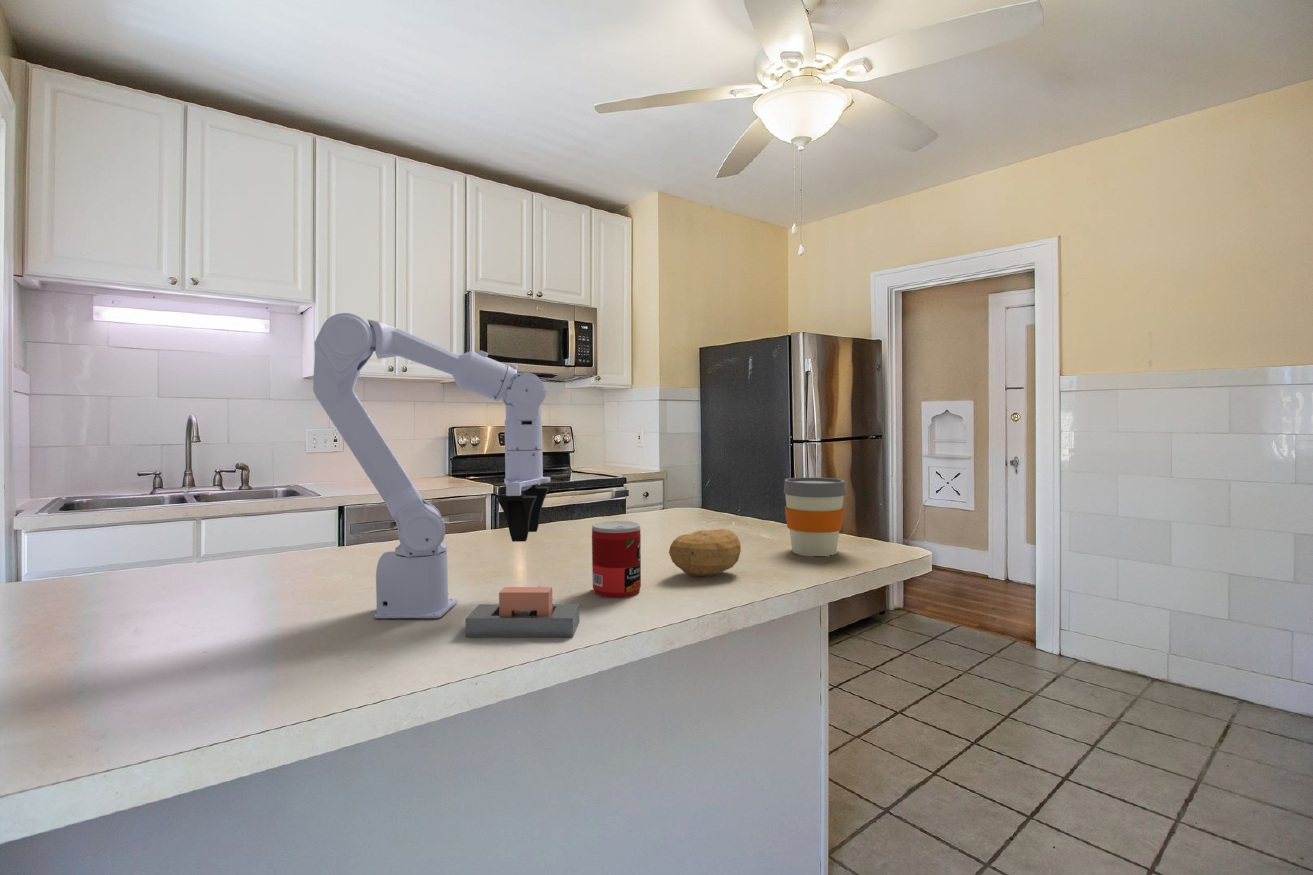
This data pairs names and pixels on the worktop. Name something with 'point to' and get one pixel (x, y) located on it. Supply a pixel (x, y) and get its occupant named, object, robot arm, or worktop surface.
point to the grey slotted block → (522, 622)
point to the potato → (705, 552)
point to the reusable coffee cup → (814, 514)
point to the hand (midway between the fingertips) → (525, 536)
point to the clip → (525, 600)
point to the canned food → (616, 558)
